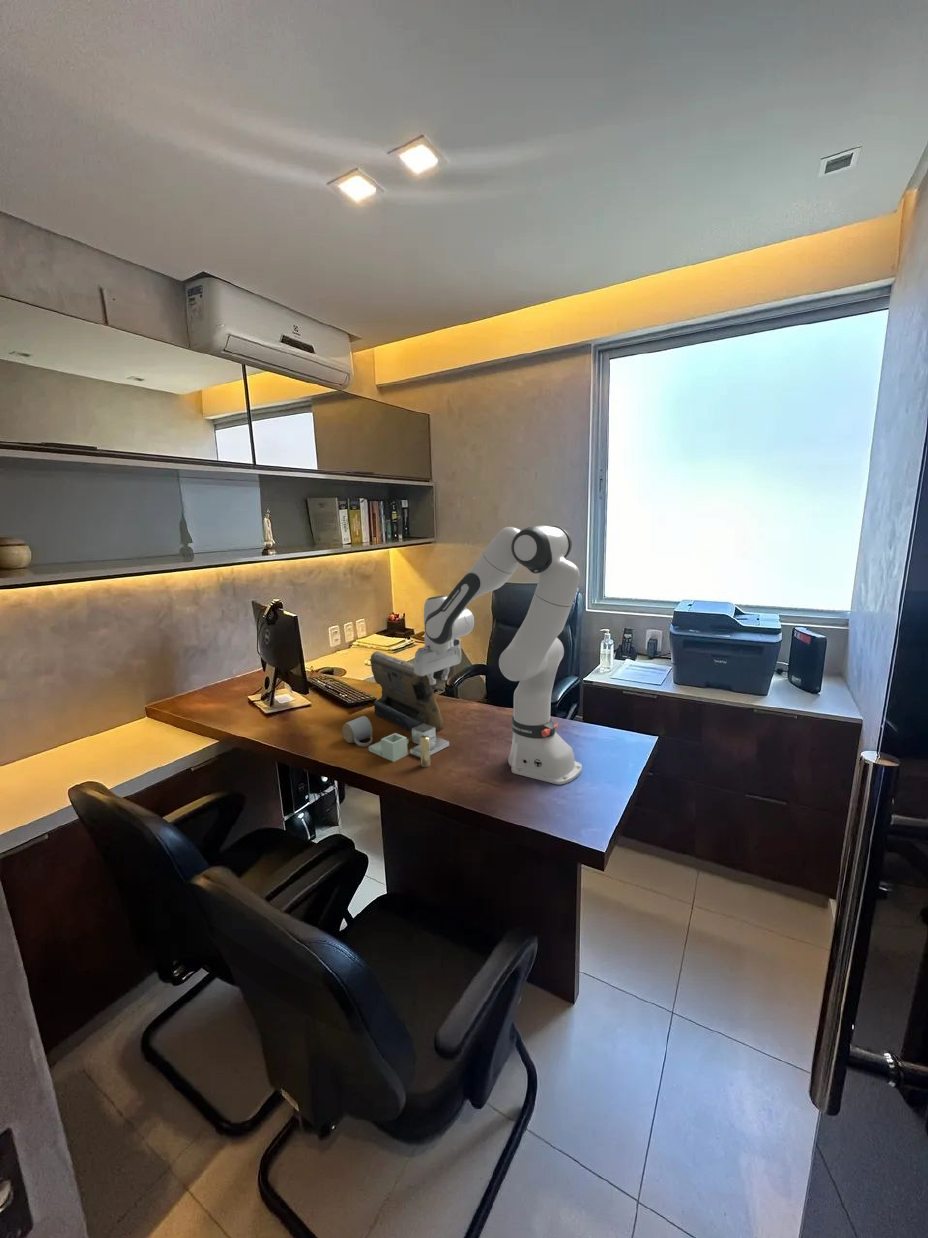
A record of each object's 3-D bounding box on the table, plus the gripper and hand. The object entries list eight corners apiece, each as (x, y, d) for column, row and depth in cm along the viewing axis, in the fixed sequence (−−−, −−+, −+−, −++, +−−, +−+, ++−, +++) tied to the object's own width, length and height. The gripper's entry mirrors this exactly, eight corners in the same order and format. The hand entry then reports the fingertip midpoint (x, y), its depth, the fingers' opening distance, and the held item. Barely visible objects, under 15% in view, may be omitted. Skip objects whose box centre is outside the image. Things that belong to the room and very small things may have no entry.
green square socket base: (421, 748, 161) (420, 731, 160) (393, 762, 152) (392, 744, 151) (396, 738, 168) (395, 722, 167) (368, 750, 160) (367, 733, 158)
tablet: (450, 727, 178) (448, 660, 173) (421, 739, 168) (419, 669, 163) (394, 705, 200) (391, 646, 195) (365, 715, 190) (362, 653, 185)
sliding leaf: (449, 745, 162) (448, 732, 161) (423, 759, 153) (422, 744, 152) (424, 736, 169) (423, 723, 169) (398, 748, 161) (397, 734, 160)
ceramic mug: (341, 740, 168) (340, 719, 166) (361, 733, 173) (360, 712, 172) (358, 750, 160) (356, 729, 159) (378, 743, 166) (378, 721, 164)
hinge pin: (432, 764, 150) (431, 737, 148) (425, 768, 148) (424, 740, 146) (425, 761, 152) (424, 734, 150) (419, 765, 149) (418, 737, 148)
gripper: (422, 650, 155) (423, 692, 158) (464, 638, 171) (464, 676, 173) (408, 647, 159) (410, 688, 162) (450, 636, 175) (451, 673, 177)
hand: (438, 682), depth 168 cm, fingers open, 4 cm apart
